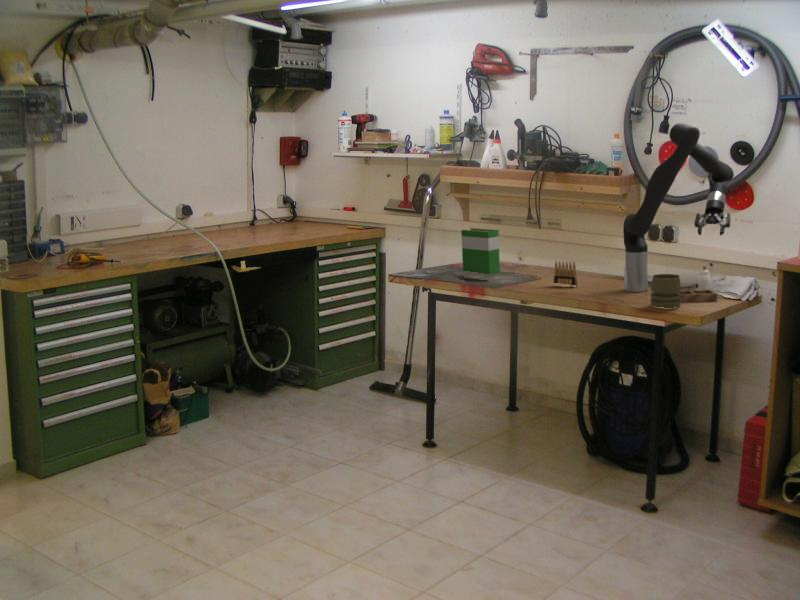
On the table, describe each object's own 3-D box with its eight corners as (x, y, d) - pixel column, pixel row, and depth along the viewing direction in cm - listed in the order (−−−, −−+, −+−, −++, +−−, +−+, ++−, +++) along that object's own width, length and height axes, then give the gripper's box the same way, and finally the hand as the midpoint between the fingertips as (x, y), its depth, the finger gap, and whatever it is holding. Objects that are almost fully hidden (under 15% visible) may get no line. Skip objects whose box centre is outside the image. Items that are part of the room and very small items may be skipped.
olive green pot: (681, 274, 342) (680, 279, 332) (680, 303, 345) (680, 309, 334) (651, 273, 346) (650, 279, 336) (651, 303, 348) (650, 309, 338)
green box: (463, 278, 428) (461, 230, 423) (473, 275, 432) (471, 228, 428) (489, 281, 415) (488, 232, 410) (500, 279, 419) (498, 230, 415)
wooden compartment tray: (673, 302, 347) (673, 295, 346) (668, 298, 356) (668, 291, 355) (717, 301, 345) (717, 293, 345) (710, 296, 354) (711, 289, 354)
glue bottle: (699, 295, 359) (700, 267, 356) (697, 292, 363) (697, 265, 361) (711, 294, 358) (711, 266, 356) (708, 292, 363) (708, 265, 360)
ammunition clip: (553, 286, 394) (553, 260, 391) (555, 285, 395) (555, 260, 393) (575, 288, 387) (575, 261, 385) (577, 287, 389) (576, 261, 386)
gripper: (697, 199, 374) (691, 228, 367) (732, 198, 367) (727, 228, 360) (699, 209, 380) (694, 239, 372) (733, 209, 373) (728, 239, 365)
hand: (710, 234), depth 366 cm, fingers open, 8 cm apart
